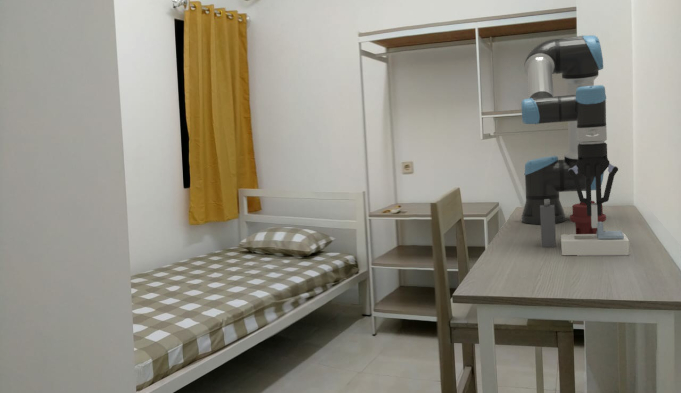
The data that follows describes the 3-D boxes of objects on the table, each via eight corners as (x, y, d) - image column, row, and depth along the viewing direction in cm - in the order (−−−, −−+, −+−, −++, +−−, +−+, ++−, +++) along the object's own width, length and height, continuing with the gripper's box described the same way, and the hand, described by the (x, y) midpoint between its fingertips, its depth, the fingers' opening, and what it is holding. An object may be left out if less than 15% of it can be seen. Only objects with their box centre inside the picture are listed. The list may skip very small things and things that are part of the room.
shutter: (596, 233, 175) (596, 221, 175) (621, 233, 173) (620, 220, 173) (598, 238, 169) (597, 225, 168) (623, 238, 167) (623, 225, 166)
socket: (561, 248, 180) (560, 234, 180) (625, 247, 175) (624, 233, 174) (561, 255, 171) (561, 241, 171) (629, 255, 165) (628, 240, 165)
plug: (541, 244, 187) (539, 198, 186) (555, 244, 186) (554, 198, 184) (541, 247, 184) (539, 200, 182) (555, 247, 182) (554, 200, 181)
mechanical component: (602, 238, 189) (610, 244, 180) (568, 239, 191) (573, 246, 182) (601, 198, 188) (608, 202, 178) (566, 200, 190) (572, 204, 180)
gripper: (567, 145, 168) (570, 230, 171) (619, 141, 164) (621, 229, 167) (566, 143, 175) (569, 225, 178) (616, 140, 171) (618, 224, 174)
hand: (594, 227), depth 172 cm, fingers closed
